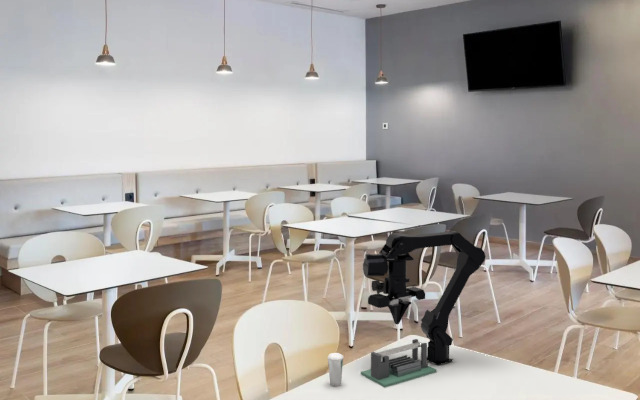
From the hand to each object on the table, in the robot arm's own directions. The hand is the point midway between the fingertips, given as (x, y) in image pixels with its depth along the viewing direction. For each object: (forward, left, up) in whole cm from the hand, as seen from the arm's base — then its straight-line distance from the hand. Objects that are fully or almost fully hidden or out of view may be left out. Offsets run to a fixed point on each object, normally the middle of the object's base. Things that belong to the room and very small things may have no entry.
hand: (396, 324), depth 191 cm
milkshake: (+24, +2, -13) cm, 27 cm away
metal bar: (+4, +6, -7) cm, 10 cm away
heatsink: (+3, +6, -13) cm, 15 cm away
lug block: (+12, +6, -13) cm, 18 cm away
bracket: (-4, +6, -13) cm, 15 cm away
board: (+4, +6, -13) cm, 15 cm away
